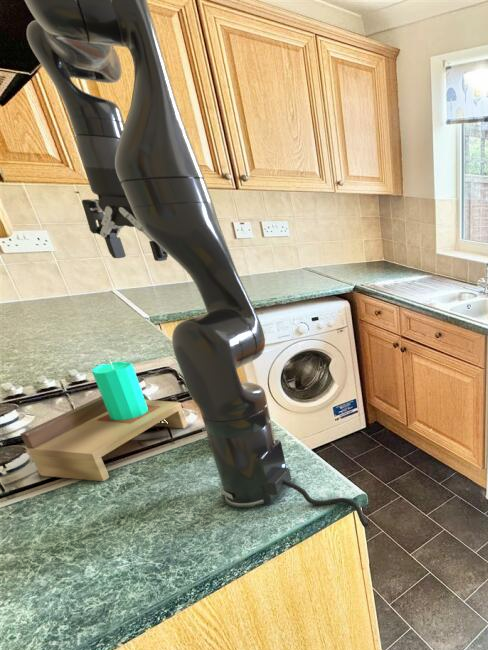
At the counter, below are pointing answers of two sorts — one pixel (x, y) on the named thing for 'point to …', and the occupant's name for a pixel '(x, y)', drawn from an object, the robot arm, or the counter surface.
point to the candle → (120, 390)
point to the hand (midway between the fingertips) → (140, 259)
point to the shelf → (91, 437)
